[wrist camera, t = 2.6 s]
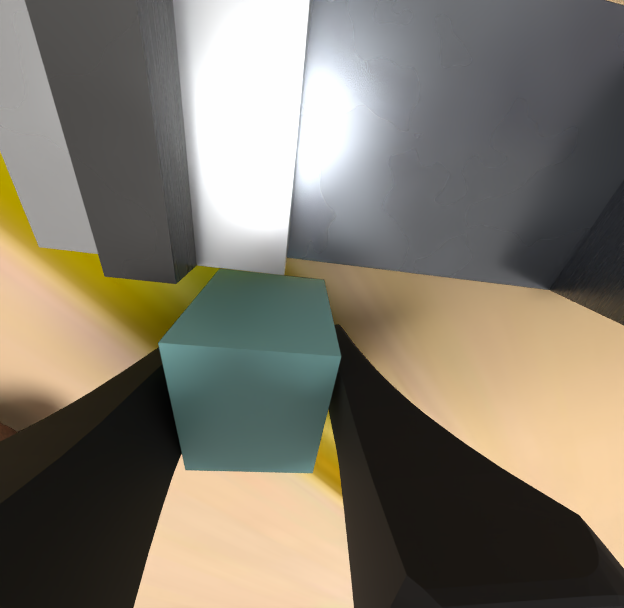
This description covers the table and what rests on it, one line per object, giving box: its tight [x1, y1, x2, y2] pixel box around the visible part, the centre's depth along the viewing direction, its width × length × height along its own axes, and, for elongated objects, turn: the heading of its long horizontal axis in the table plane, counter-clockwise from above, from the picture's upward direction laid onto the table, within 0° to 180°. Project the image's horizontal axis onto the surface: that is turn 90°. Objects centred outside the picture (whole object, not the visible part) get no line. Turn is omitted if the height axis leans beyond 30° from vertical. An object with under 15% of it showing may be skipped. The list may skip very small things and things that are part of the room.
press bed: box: [287, 0, 624, 325], centre depth 6 cm, size 18×7×4 cm, turn 82°
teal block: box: [158, 269, 341, 473], centre depth 8 cm, size 4×5×4 cm
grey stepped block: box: [0, 0, 312, 284], centre depth 4 cm, size 5×6×4 cm
